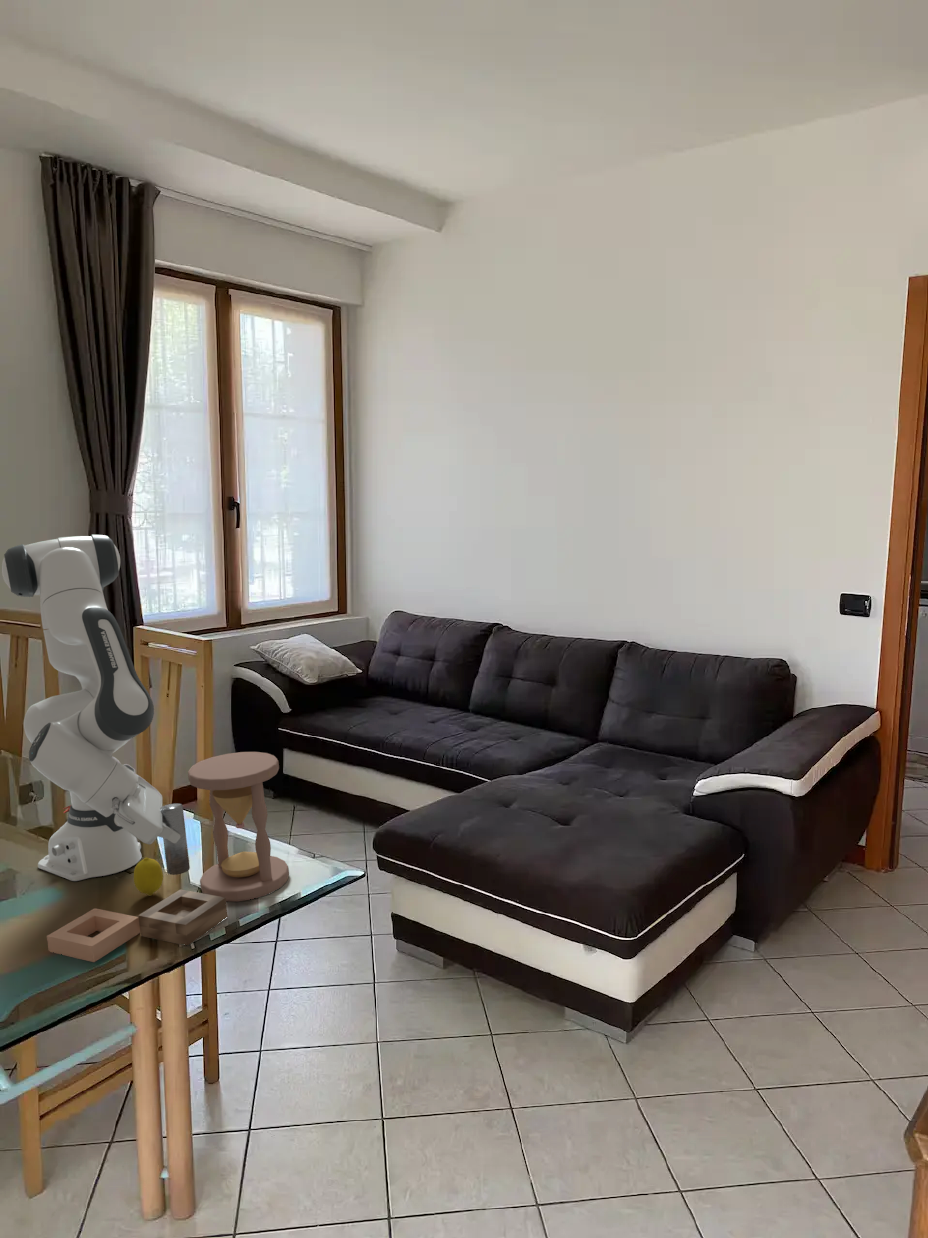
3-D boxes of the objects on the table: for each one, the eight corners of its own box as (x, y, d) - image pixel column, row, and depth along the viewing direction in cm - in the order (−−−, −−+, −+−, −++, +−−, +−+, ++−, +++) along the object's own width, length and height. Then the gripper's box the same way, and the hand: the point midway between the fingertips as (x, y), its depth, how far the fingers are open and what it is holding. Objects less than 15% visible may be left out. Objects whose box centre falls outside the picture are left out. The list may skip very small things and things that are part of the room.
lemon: (164, 898, 184) (160, 860, 183) (135, 904, 183) (130, 865, 181) (165, 887, 189) (160, 850, 188) (136, 892, 188) (132, 854, 187)
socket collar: (48, 951, 166) (46, 936, 165) (96, 923, 176) (94, 908, 175) (94, 962, 161) (91, 946, 161) (140, 932, 171) (138, 917, 170)
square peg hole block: (140, 936, 170) (138, 915, 169) (182, 908, 179) (180, 889, 179) (187, 946, 165) (185, 925, 164) (227, 917, 175) (225, 897, 174)
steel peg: (162, 873, 169) (154, 810, 167) (177, 864, 173) (170, 802, 171) (179, 876, 168) (171, 812, 166) (194, 867, 171) (187, 804, 169)
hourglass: (305, 881, 189) (294, 762, 184) (226, 911, 177) (213, 786, 173) (262, 857, 202) (251, 746, 198) (186, 884, 190) (172, 767, 186)
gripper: (124, 795, 155) (191, 840, 160) (128, 761, 175) (187, 802, 179) (99, 825, 155) (166, 869, 159) (105, 788, 174) (166, 828, 179)
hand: (177, 833), depth 169 cm, fingers closed on steel peg, 4 cm apart
